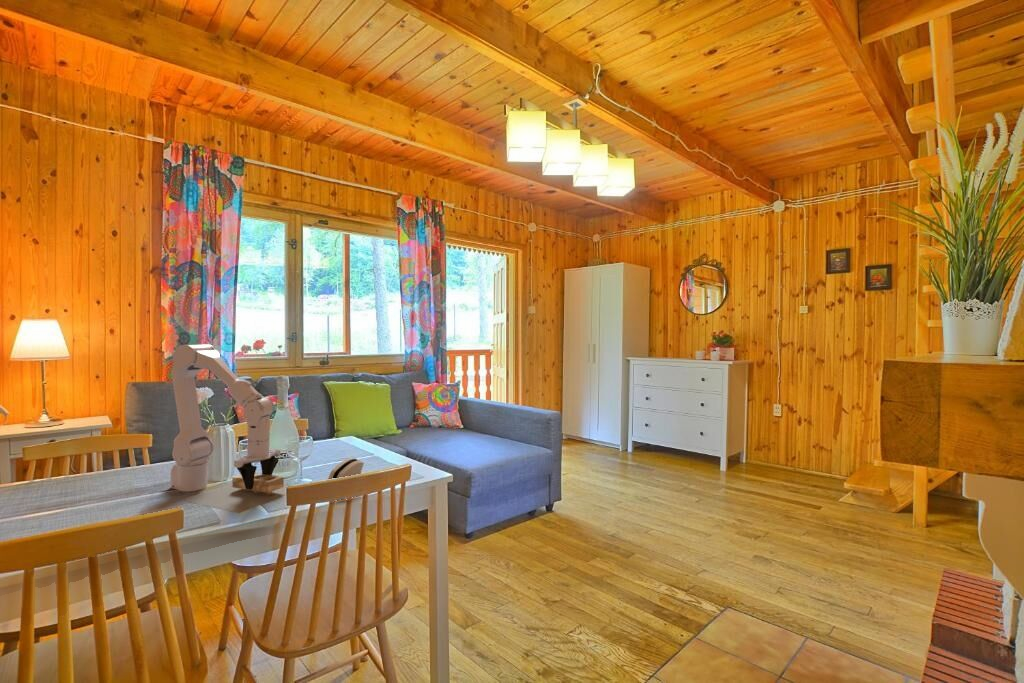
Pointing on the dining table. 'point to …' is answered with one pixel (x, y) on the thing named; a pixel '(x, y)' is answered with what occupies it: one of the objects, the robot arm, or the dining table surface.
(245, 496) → the board
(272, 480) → the tan block
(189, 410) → the robot arm
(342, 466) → the tan half-round piece
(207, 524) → the dining table surface
